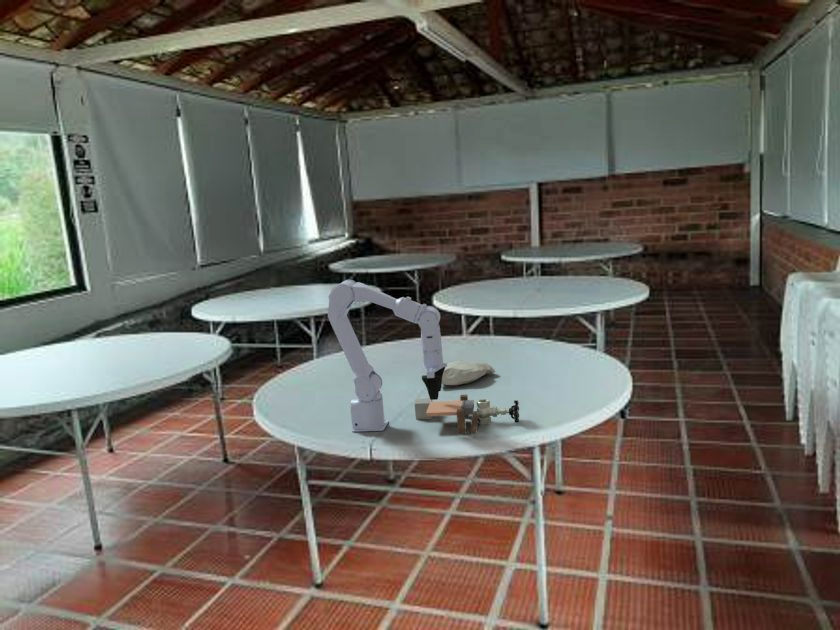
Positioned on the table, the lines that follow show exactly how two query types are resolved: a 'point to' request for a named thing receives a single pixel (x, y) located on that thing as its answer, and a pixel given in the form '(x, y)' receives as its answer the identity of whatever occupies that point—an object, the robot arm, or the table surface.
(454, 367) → the rock
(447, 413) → the trapdoor
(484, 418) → the valve
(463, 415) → the frame
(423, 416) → the stone block
